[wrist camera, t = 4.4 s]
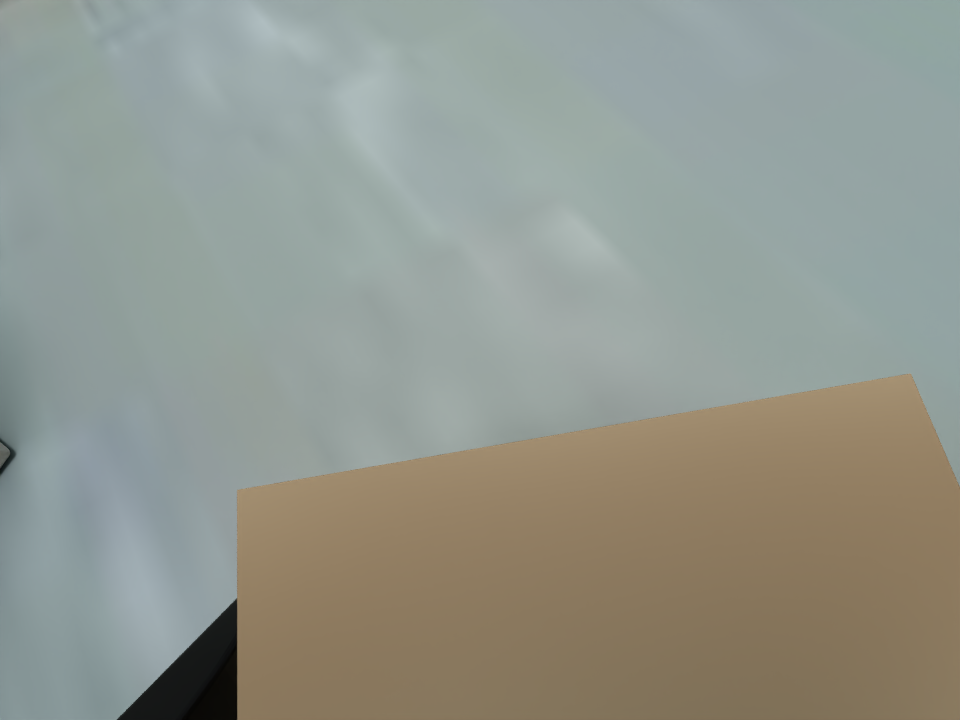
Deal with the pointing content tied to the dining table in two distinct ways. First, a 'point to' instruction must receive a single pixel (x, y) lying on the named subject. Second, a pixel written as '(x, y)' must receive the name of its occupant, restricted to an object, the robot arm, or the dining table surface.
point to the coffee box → (3, 454)
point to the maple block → (619, 573)
